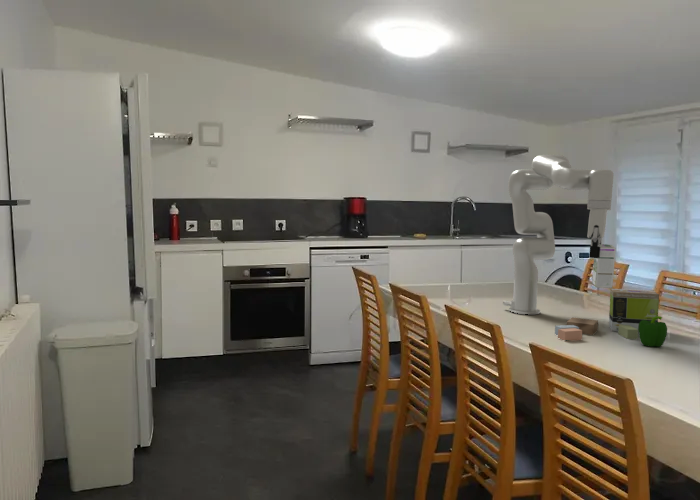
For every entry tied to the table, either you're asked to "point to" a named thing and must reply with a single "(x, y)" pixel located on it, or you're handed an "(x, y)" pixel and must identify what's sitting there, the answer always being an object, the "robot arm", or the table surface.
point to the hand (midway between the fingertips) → (595, 256)
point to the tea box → (632, 307)
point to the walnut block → (584, 325)
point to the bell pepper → (652, 332)
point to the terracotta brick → (570, 334)
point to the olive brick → (628, 332)
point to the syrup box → (604, 267)
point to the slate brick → (564, 327)
